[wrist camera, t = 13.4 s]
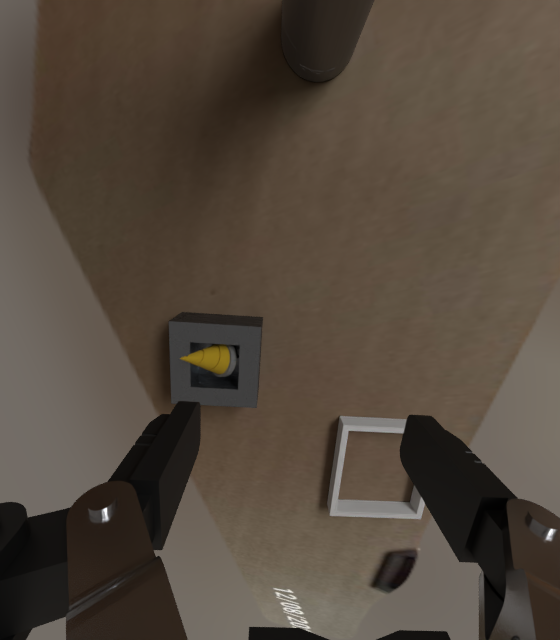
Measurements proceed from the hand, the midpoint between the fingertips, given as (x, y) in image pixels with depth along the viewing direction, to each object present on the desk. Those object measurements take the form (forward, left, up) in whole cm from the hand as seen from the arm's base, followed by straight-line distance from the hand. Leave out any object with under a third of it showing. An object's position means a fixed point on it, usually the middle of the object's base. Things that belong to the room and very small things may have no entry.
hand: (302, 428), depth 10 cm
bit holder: (+10, -9, -32) cm, 34 cm away
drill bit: (+10, -9, -31) cm, 34 cm away
